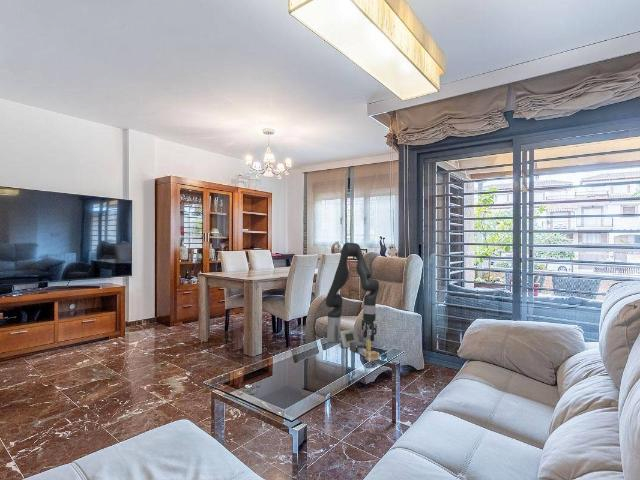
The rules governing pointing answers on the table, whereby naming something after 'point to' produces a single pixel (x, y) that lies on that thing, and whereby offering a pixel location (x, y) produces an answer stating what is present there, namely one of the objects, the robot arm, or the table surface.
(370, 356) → the tan block
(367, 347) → the tube
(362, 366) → the table surface
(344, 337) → the digital clock
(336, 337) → the robot arm
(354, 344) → the sleeve
